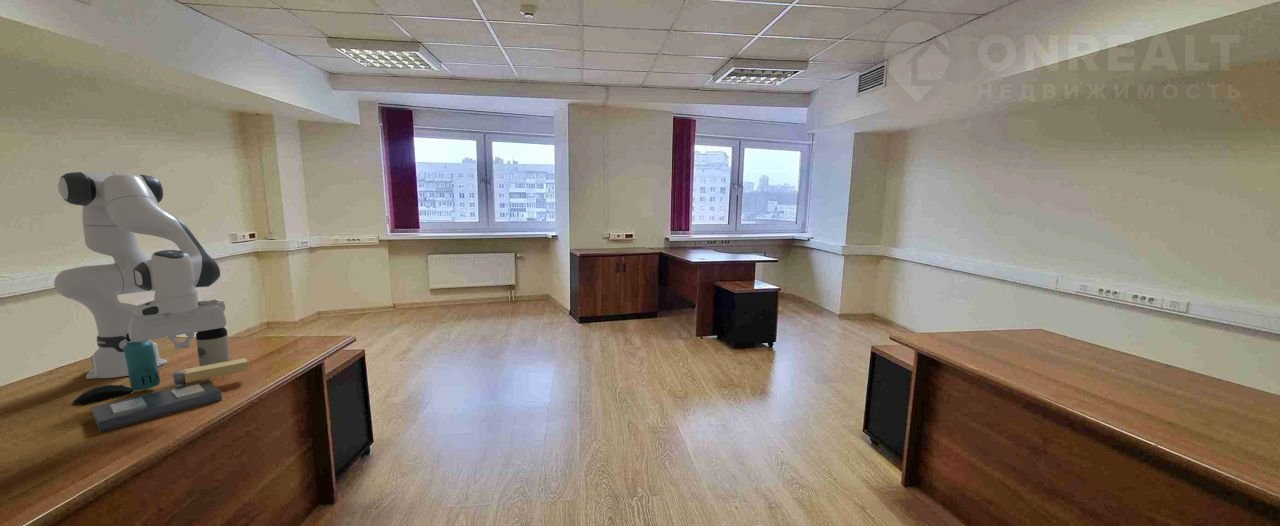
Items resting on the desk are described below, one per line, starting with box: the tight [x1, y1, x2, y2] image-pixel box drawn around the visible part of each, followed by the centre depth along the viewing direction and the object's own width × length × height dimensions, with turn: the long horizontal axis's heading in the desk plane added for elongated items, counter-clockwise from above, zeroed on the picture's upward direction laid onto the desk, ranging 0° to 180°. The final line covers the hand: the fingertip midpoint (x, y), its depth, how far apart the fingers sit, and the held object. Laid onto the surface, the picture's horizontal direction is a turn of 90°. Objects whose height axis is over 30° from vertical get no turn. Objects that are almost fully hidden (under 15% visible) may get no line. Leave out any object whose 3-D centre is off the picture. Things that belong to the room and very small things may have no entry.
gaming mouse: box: [72, 384, 134, 405], centre depth 135 cm, size 6×15×4 cm, turn 145°
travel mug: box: [195, 327, 231, 367], centre depth 154 cm, size 8×8×18 cm
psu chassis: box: [91, 379, 223, 433], centre depth 129 cm, size 17×24×4 cm
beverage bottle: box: [123, 333, 161, 391], centre depth 137 cm, size 6×7×20 cm
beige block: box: [172, 357, 249, 384], centre depth 143 cm, size 18×5×3 cm, turn 138°
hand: (182, 348), depth 131 cm, fingers closed
